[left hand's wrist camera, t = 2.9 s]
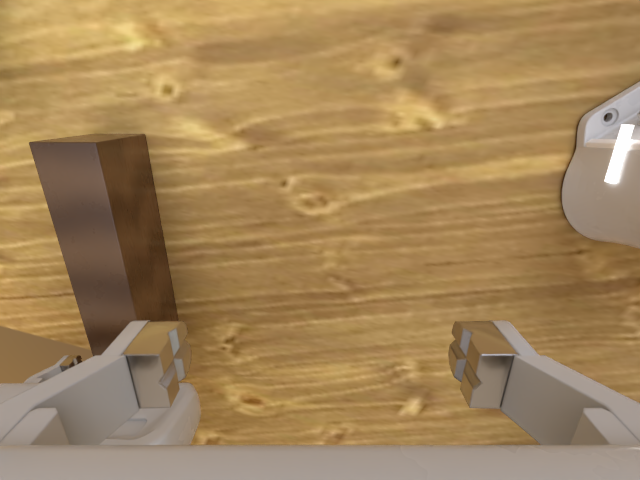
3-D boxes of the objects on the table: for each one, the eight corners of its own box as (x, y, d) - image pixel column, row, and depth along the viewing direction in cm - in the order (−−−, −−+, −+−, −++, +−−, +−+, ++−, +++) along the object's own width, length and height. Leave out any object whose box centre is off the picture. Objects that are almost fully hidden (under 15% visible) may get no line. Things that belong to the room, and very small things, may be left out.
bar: (92, 133, 35) (28, 142, 28) (145, 134, 35) (95, 142, 28) (140, 338, 45) (102, 387, 37) (181, 338, 45) (152, 387, 37)
